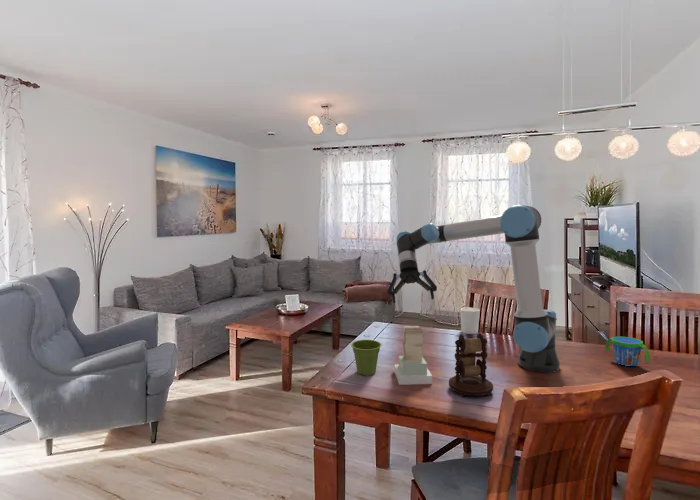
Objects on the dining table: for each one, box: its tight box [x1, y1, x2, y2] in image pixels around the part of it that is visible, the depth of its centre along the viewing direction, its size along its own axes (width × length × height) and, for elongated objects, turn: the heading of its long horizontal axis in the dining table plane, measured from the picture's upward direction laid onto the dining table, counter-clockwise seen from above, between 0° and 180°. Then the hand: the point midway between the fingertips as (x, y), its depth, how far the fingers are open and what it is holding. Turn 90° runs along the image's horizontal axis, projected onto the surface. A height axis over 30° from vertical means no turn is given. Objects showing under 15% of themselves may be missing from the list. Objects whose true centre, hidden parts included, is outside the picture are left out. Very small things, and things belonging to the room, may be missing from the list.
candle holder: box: [460, 306, 481, 335], centre depth 207 cm, size 10×10×12 cm
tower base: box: [393, 355, 433, 386], centre depth 148 cm, size 12×12×7 cm
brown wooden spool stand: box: [448, 332, 494, 398], centre depth 137 cm, size 15×15×20 cm
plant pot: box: [350, 339, 382, 376], centre depth 154 cm, size 12×12×11 cm
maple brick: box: [402, 325, 423, 363], centre depth 148 cm, size 6×6×12 cm
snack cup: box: [604, 335, 650, 367], centre depth 159 cm, size 16×10×10 cm
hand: (414, 308), depth 158 cm, fingers open, 13 cm apart
